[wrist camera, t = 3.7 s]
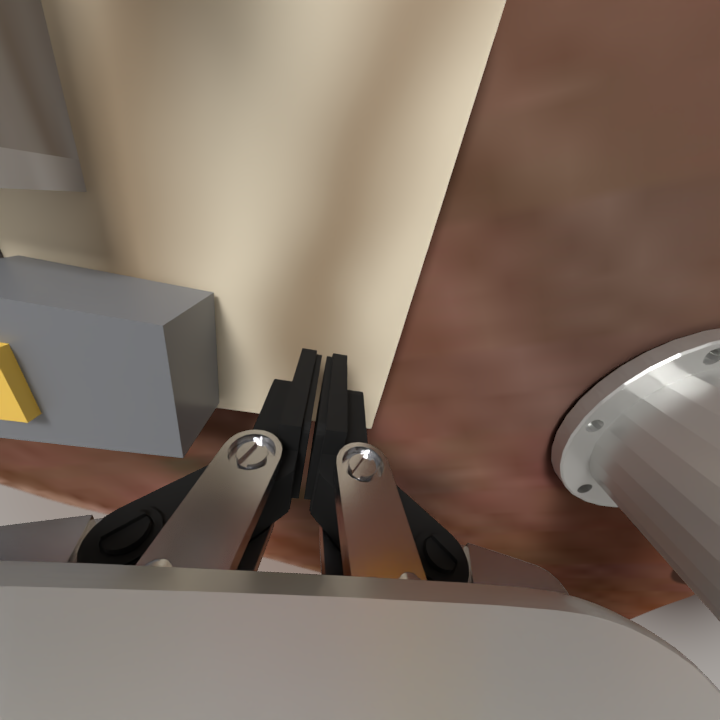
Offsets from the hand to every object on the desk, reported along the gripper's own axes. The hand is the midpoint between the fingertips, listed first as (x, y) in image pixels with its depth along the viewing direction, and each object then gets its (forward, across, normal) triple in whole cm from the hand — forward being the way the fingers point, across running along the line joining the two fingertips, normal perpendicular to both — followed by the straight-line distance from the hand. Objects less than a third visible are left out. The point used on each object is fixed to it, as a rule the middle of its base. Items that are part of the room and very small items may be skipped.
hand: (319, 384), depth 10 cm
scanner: (+1, +7, 0) cm, 7 cm away
